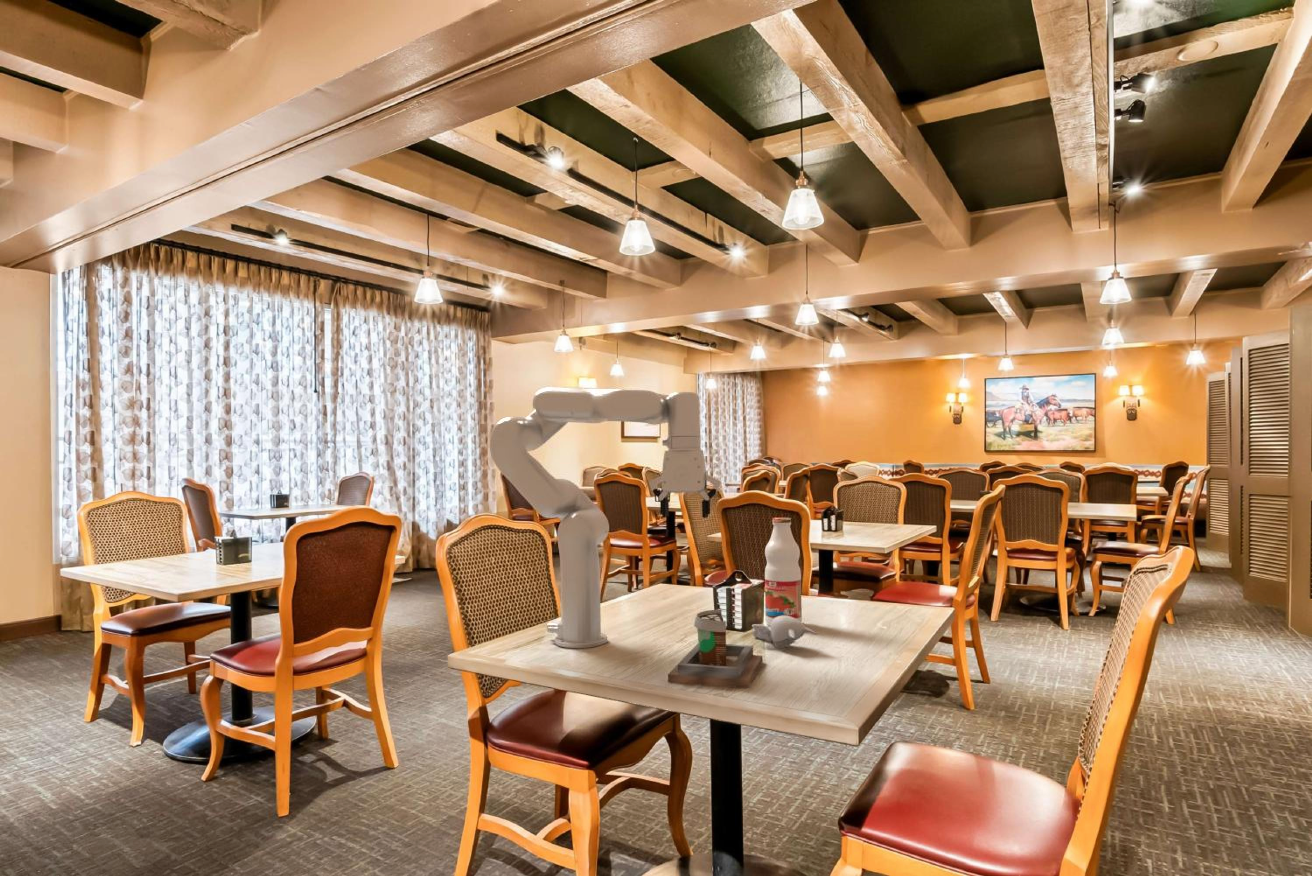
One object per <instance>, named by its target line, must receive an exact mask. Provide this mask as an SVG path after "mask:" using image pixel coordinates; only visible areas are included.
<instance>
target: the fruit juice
mask: <svg viewBox="0 0 1312 876" xmlns="http://www.w3.org/2000/svg"><path fill="white" fill-rule="evenodd" d="M771 522H772V525H773V528H772V532H771V535H770V538H769V540H768V542H767V544H766V545H765V548H764V556H765V559H766V560H765V561H766V566H765V568H764V596H765V597H764V601H765V603H764V605H765V610H764V611H765V623H766V626H768V627H771V622H772V620H773V619H774V618H776V617H778V616H784V615H785V616H790V617H793V618H795V619H797V620H799V621H800V622H802V619H803V618H802V617H803V616H802V615H803V614H802V613H803V612H802V607H803V606H802V571H801V567H800V565H799V559H800V557H801V556H800V555H801V553H800V552H801V551H800V547H799V545H798V543H797V542H796V540H795V538H794V536H793V533H792V529H791V525H792V518H791V517H772V520H771Z"/></svg>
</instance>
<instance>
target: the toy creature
mask: <svg viewBox="0 0 1312 876" xmlns="http://www.w3.org/2000/svg"><path fill="white" fill-rule="evenodd" d="M751 627H752V635H753V638H756V639H759V640H766V641H773V643H774V644H773V645H775V646H776V647H777V648H779V649H785V648H787V647H791V646H792V644H794V641H797V640H799V639H800V638H802V637H804V634H814V635H819V633H818V632H815V631H814V630H812V629H810V628H808V627H807V626H805V624H803V623H802V622H800V621H799V620H797V619H795V618H793V617H790V616H785V615H784V616H778V617H776V618H774V619H773V620H772V622H771V626H769V625H763V624H761V623H756V624H755V623H754V624H752V625H751Z"/></svg>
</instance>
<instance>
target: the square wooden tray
mask: <svg viewBox="0 0 1312 876" xmlns="http://www.w3.org/2000/svg"><path fill="white" fill-rule="evenodd" d="M762 664H763V655H758V654H754V646H753V645H750V644H749V645H745V644H730V643H726V666H714V665H701V664H700V654H699V642H698V643H697V644H696V645H695V646H693V648H692V649H691V650H690V651H689V652H688V653H687V654H685V656H684V657H683V658H682V659H681V660H680V661H679V662H678V663H677V664H676V665H675V666H674V667H673V668H672V669H671V670H670V671H669V672H668V674H667V683H675V682H677V684H687V685H689V684H690V685H700V686H701V685H702V686H703V685H704V686H716V687H727V688H728V687H729V688H740V689H741V688H742V689H749V688H750V686H751V684H752V682H753V681H754V679H755V677H756V675H757V674H758V671H759V670H760V668H761V666H762Z"/></svg>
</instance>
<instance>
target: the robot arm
mask: <svg viewBox="0 0 1312 876" xmlns="http://www.w3.org/2000/svg"><path fill="white" fill-rule="evenodd" d="M532 410H533V411H532V412H531V413H530V414H529V415H528V416H527V417H521V416H507V417H504V418H502V419H500V420H499V421H498V422H497V423H495V425H494V426H493V429H492V430H491V434H490V438H489V452H490V455H491V459H492V460H493V463H494V464H495V466H496V467H497V469H498V470H499V472H501V474H502V475H503V476H504V477H505V478H506V479H507V480H508V481H509V483H511V484H512V485H513V486H514V488H515V489H516V490H517V491H518V493H520V495H521V496H522V497H523V498H524V499H525V500H526V501H527V502H528V504H529V505H530V506H531V507H532V508H533V509H534V510H535V511H536V512H537V513H538V514H539V516H542V517H543V518H546V519H555V518H557V519H559V520H560V523H559V525H558V528H557V536H556V537H557V546H558V551H559V563H560V565H559V567H560V617H561V619H560V622H559V623H555V622H553V623H552V622H548V623H547V625H546V631H547V633H549V634H550V633H552V634H553V633H554V634H556V635H557V636H556V637H555V638H554V643H555V645H557V646H558V647H562V648H568V649H587V648H594V647H599V646H602V645H604V644H606V643H607V642H608V636H607V634H605V633H603V632H602V630H601V628H602V627H601V625H602V624H601V621H602V620H601V568H600V567H601V566H600V556H599V555H600V554H599V551H598V550H599V549H598V546H599V545H600V544H601V543H603V542H604V541H605V540H606V539H607V537H608V535H609V531H610V524H609V520H608V517H607V516H606V515H605V513H604V512H603V511H602V510H601V509H600V508H599V507H598V505H596V503H594V501H592V500H591V498H590V497H588V495H587V494H586V493H585V492H584V491H583V490H582V489H581V488H580V487H579V486H578V485H577V484H575V483H574V482H572V481H571V480H569V479H565V478H564V479H563V478H555V477H554V476H553V475H552V474H551V473H550V472H549V471H548V470H547V469H546V468H545V467H544V466H543V465H542V463H540V462H539V461H538V460H537V459H536V458H535V457H533V456H532V455H531V454H530V453H529V452H530V451H534V450H537V449H539V448H541V447H542V446H543V445H545V443H547V441H549V440H550V439H551V438H552V437H554V436H555V435H556V434H557V433H559V431H560V430H562V429H563V428H564V427H565V426H566V425H567V424H568V423H583V424H601V423H604V422H625V423H626V422H630V423H643V424H649V425H660V424H667V434H668V435H667V439H662V443H661V444H662V447H664V446H665V447H667V449H668V450H664V453H663V459H662V468H661V469H662V471H661V475H659V476H658V477H656V478H654V479H651V481H649V483H648V484H649V486H650V489H651V491H652V493H653V494H654V496H655V497H657V498H658V500H659V505H660V508H659V509H660V512H659V513H660V514H662V518H668V517H669V515H670V512H669V511H670V508H669V507H670V504H669V499H668V497H669V496H670V495H671V493H676V494H677V493H678V494H679V493H680V494H682V493H686V494H687V493H688V494H691V493H692V494H693V493H699V495H700V496H701V497H702V498H703V499H702V501H701V508H702V509H701V517H702V518H704V519H706V518H709V515H710V514H711V500H712V498H713V497H714V496H716V494H718V491H719V489H720V487H721V485H722V481H721V480H720V479H717V478H715V477H713V476H711V475H709V474H707V467H706V460H705V453H704V450H703V449H702V450H701V430H700V427H701V424H700V397H699V395H698V394H697V393H696V392H693V391H692V392H691V391H676V392H672V393H670V394H661V393H657V392H655V391H651V390H646V389H624V388H622V389H616V388H615V389H613V388H608V389H606V388H597V387H596V388H595V387H594V388H590V387H589V388H588V387H567V386H565V387H564V386H563V387H562V386H547V387H543V388H541V389H539V390H537V391H536V393H535V394H534V396H533V399H532ZM708 482H709V483H711V484H712V485H713V486H712V488H711V489H710V490H709V491H707V487H708ZM660 483H661V489H662V491H661V490H660V489H659V487H658V484H660Z"/></svg>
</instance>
